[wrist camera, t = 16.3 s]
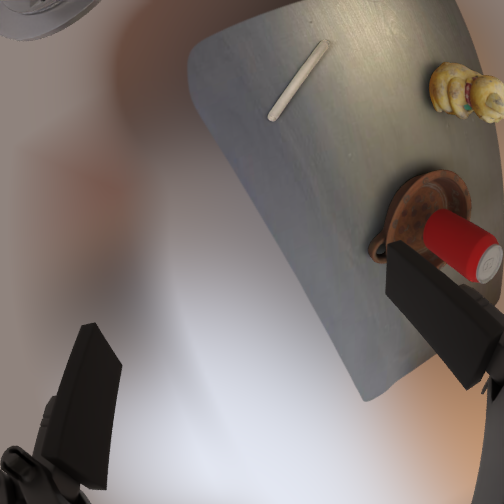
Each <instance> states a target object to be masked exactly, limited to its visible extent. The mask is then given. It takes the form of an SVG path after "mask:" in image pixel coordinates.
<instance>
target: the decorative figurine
mask: <svg viewBox="0 0 504 504" xmlns="http://www.w3.org/2000/svg"><path fill="white" fill-rule="evenodd" d="M429 92H430V98H431V101H432V104H433V106H434V109H435V110H436V111H437V112H443V111H445V112H446V113H447V114H452V115H456V116H457V117H458V118H460V119H466V118H467V117H468V115H469V114H471V113H472V112H474V111H475V113H476V114H477V116H478V117H479V118H480V119H482V120H483V121H485V122H487V123H492V122H499V121H500V120H501V119H503V118H504V84H503V83H502V82H501V81H500V80H499V79H497V78H495V77H493V76H489V75H483V76H482V75H481V74H479V73H477V72H475V71H472V70H470V69H469V68H467V67H465V66H464V65H461V64H458V63H448V62H444V63H442V64H441V65H440V66H439V67H438V68H437V69H436V70H435V71H434V72H433V73H432V76H431V78H430V83H429Z"/></svg>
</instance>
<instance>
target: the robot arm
mask: <svg viewBox="0 0 504 504" xmlns="http://www.w3.org/2000/svg"><path fill="white" fill-rule="evenodd" d="M62 1H63V0H3V2H4V4H5V5H6V6H7V8H9V9H10V10H12V11H14V12H16V13H19V14H23V15H31V14H36V13H40V12H43V11H45V10H48V9H50V8H52V7H54V6H56V5H57V4H59V3H60V2H62ZM385 294H386V295H387V296H388V297H389V298H390V300H391V301H392V302H393V303H394V304H395V305H396V306H397V307H398V308H399V310H400V311H401V312H402V313H403V314H404V315H405V316H406V318H407V319H408V320H409V321H410V322H411V323H412V324H413V326H414V327H415V328H416V329H417V330H418V331H419V333H420V334H421V335H422V336H423V337H424V339H425V340H426V341H427V342H428V343H429V344H430V346H431V347H432V348H433V349H434V350H435V352H436V353H437V354H438V355H439V357H440V358H441V359H442V360H443V361H444V363H445V364H446V365H447V366H448V368H449V369H450V370H451V371H452V372H453V374H454V375H455V377H456V378H457V379H458V380H459V382H460V383H461V384H462V385H463V387H464V388H465V389H466V390H468V389H470V388H471V387H473V386H474V385H475V384H477V383H478V382H480V381H481V379H482V377H483V375H484V373H485V371H486V372H487V373H488V374H489V375H490V376H489V378H488V380H487V382H486V384H485V385H484V387H483V389H482V392H481V394H484V392H485V391H486V389H488V390H487V410H486V423H485V432H484V441H483V448H482V455H481V461H480V467H479V472H478V477H477V482H476V487H475V491H474V495H473V500H472V503H471V504H504V314H502V313H501V312H500V311H499V310H498V309H497V308H496V307H495V306H494V305H492V304H491V303H489V301H488V300H487V299H486V298H483V296H482V295H481V294H480V293H479V292H477V291H476V290H475V289H474V288H471V287H469V286H467V285H465V284H461V285H459V286H458V285H457V284H456V283H455V282H453V281H452V280H451V279H450V278H449V277H447V276H446V275H445V274H444V273H443V272H441V271H440V270H439V269H438V268H436V267H435V266H434V265H433V264H431V263H430V262H429V261H428V260H426V259H425V258H424V257H423V256H421V255H420V254H419V253H418V252H416V251H415V250H414V249H412V248H411V247H410V246H408V245H407V244H406V243H404V242H403V241H402V240H398V241H395V242H392V243H389V244H387V271H386V292H385ZM121 370H122V364H121V362H120V361H119V360H118V358H117V356H116V355H115V353H114V352H113V350H112V349H111V347H110V345H109V344H108V342H107V341H106V339H105V338H104V336H103V334H102V333H101V331H100V329H99V328H98V326H97V324H96V323H90V324H86V325H82V326H81V329H80V331H79V334H78V336H77V339H76V341H75V344H74V346H73V349H72V352H71V354H70V357H69V360H68V363H67V365H66V369H65V371H64V374H63V377H62V380H61V383H60V386H59V389H58V392H57V396H52V398H51V399H50V401H49V402H48V404H47V405H46V408H45V411H44V414H43V419H42V421H41V424H40V425H41V427H40V428H39V432H38V435H37V439H36V443H35V447H34V451H33V455H32V456H31V455H29V454H28V453H27V452H25V451H24V450H23V449H22V448H20V447H19V446H11V447H9V448H8V449H7V450H6V451H5V452H4V454H3V456H2V458H1V470H0V504H91V503H90V501H89V500H88V498H87V497H86V495H85V494H84V493H83V492H82V491H81V490H80V483H81V484H82V485H84V486H85V487H87V488H89V489H93V490H107V475H108V464H109V452H110V444H111V435H112V427H113V420H114V413H115V406H116V399H117V394H118V388H119V382H120V376H121ZM487 387H488V388H487ZM2 470H3V471H4V472H3V471H2ZM5 472H6V473H7V474H6V473H5Z"/></svg>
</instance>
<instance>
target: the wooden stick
mask: <svg viewBox="0 0 504 504" xmlns="http://www.w3.org/2000/svg"><path fill="white" fill-rule="evenodd" d="M328 47H329V42H328V41H327V40H322V41H321V42H320V43H319V44H318V46H317V47H316V48H315V50H314V51H313V52H312V54H311V55H310V56H309V58H308V59H307V60H306V62H305V63H304V64H303V66H302V67H301V68H300V70H299V71H298V73H297V74H296V75H295V77H294V78H293V80H292V81H291V82H290V84H289V85H288V87H287V88H286V89H285V91H284V92H283V94H282V95H281V96H280V98H279V99H278V101H277V102H276V104H275V105H274V106H273V108H272V109H271V111H270V112H269V114H268V119H269V120H270V121H276V120H277V118H278V117H279V116H280V114H281V113H282V111H283V110H284V108H285V107H286V105H287V104H288V103H289V101H290V100H291V98H292V97H293V95H294V94H295V93H296V91H297V90H298V88H299V87H300V85H301V84H302V83H303V81H304V80H305V79H306V77H307V76H308V74H309V73H310V72H311V70H312V69H313V67H314V66H315V65H316V63H317V62H318V61H319V59H320V58H321V57H322V55H323V54H324V53H325V51H326V50H327V48H328Z"/></svg>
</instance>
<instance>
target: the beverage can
mask: <svg viewBox="0 0 504 504" xmlns="http://www.w3.org/2000/svg"><path fill="white" fill-rule="evenodd" d="M423 240H424V244H425V246H426V247H427V248H428V249H429V250H430V251H432V252H433V253H434V254H436V255H437V256H438V257H439V258H441V259H442V260H443V261H445V262H446V263H447V264H449V265H450V266H451V267H452V268H454V269H455V270H456V271H458V272H459V273H460V274H461V275H463V276H464V277H465V278H467V279H468V280H469V281H471V282H480V283H487V282H488V281H490V280H491V279H492V278H493V277H494V275H495V274H496V272H497V271H498V269H499V267H500V264H501V261H502V256H503V251H502V248H501V246H499V244H498V242H497V240H496V238H495V237H494V236H493V235H492V234H490V233H489V232H487V231H485V230H484V229H482V228H480V227H479V226H477V225H475V224H474V223H472V222H470V221H468V220H467V219H465V218H463V217H461V216H459V215H457V214H455V213H454V212H452V211H450V210H448V209H439V210H437V211H435V212H434V213H433V214H432V215H431V216H430V218H429V219H428V221H427V223H426V225H425V228H424V232H423Z"/></svg>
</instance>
